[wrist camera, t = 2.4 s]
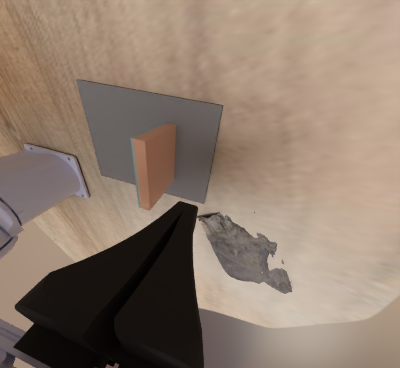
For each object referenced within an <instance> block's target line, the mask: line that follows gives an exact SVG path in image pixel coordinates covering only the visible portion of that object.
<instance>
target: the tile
mask: <svg viewBox="0 0 400 368" xmlns="http://www.w3.org/2000/svg"><path fill="white" fill-rule="evenodd" d="M131 146H132V155H133V163H134V171H135V179H136V188H137V196H138V204H139V207H140V208H143V209H146V210H151V208H152V207H153V206H154V205H155V203H156V202H157V201H158V200H159V198H160V197H161V196H162V195H163V194H164V192H165V191H166V190H167V189H168V187H169V186H170V185H171V184H172V182H173V181H174V170H175V147H176V125H175V124H170V123H164V124H161V125H159V126H157V127H155V128H152V129H150V130H148V131H145V132H143V133H141V134H139V135H136V136H134V137H132V138H131Z"/></svg>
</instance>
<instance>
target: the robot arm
mask: <svg viewBox="0 0 400 368" xmlns="http://www.w3.org/2000/svg"><path fill="white" fill-rule="evenodd" d="M24 148H25V151H22V152H18V153H15V154H11V155H8V156H4V157H1V158H0V259H1V258H2V257H4V256H5V255H6V254H7V253H8V252H9V251H10V250H11V249H12V248H13V246H14V245H15V243H16V241H17V240H18V236H17V234H19V233H20V232H22V231H23V230H24V229H23V228H22V227H21V226H22V225H24V224H25V223H27V222H29V221H30V220H32V219H34V218H35V217H37V216H39V215H40V214H42V213H43V212H45V211H47V210H48V209H50V208H52V207H53V206H55V205H56V204H58V203H60V202H61V201H63V200H65V199H66V198H68V197H70V196H71V195H76V196H79V197H82V198H86V199H88V198H89V194H88V191H87V188H86V185H85V182H84V179H83V176H82V173H81V170H80V167H79V164H78V162H77V159H76V157H74V156H72V155H68V154H64V153H61V152H57V151H53V150H49V149H46V148H42V147H38V146H35V145H31V144H24ZM197 212H198V207H197V206H195V205H191V204H188V203H184V202H181V201H179V202H178V203H176V204H175V205H174V206H173V207H172V208H171V209H169V210H168V211H167V212H166V213H164V214H163V215H162V216H161V217H159V218H158V219H157V220H155V221H154V222H152V223H151V224H150V225H148V226H147V227H145V228H144V229H142V230H141V231H139V232H137V233H136V234H134V235H133V236H131V237H129V238H127V239H126V240H124V241H122V242H120V243H118V244H116V245H114V246H112V247H110V248H108V249H106V250H104V251H102V252H100V253H97V254H95V255H93V256H91V257H88V258H86V259H84V260H81V261H79V262H76V263H74V264H71V265H69V266H66V267H63V268H61V269H58V270H56V271H53V272H50V273H49V274H48V275H47V276H46V277H44V278H43V279H42V280H41V281H40V282H39V283H38V284H37V285H36V286H35V287H34V288H33V289H31V291H29V292H28V293H27V294H26V295H25V296H24V297H23V298H22V299H21V300H20V301H19V302H18V303H17V304H16V305H15V309H16V310H17V311H18V312H20V313H21V314H22V315H24V316H25V317H26V318H28V319H29V320H31V321H32V322H34V324H33V325H32V327H31V328H30V329H29V330H28V331H27V332H25V331H23V330H21V329H19V328H17V327H15V326H13V325H11V324H9V323H7V322H5V321H3V320H1V319H0V368H16V367H13V363H14V361H15V357H17V358H19V359H21V360H22V361H24V362H26V363H28V364H30V365H32V366H34V367H36V368H105V367H106V365H107V364H108V365H110V366H114V365H115V363H117V364H119V367H118V368H204V357H203V343H202V342H203V341H202V328H201V323H200V317H199V311H198V304H197V297H196V289H195V279H194V268H193V232H194V228H195V224H196V218H197Z"/></svg>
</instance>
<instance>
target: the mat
mask: <svg viewBox="0 0 400 368" xmlns="http://www.w3.org/2000/svg"><path fill="white" fill-rule="evenodd" d="M77 84H78V88H79V92H80V96H81V99H82V103H83V107H84V111H85V115H86V118H87V122H88V126H89V130H90V134H91V138H92V141H93V145H94V149H95V153H96V157H97V161H98V164H99V168H100V172H101V175H103V176H106V177H110V178H113V179H117V180H120V181H124V182H127V183H131V184H135V185H136V179H135V171H134V163H133V155H132V146H131V138H132V137H134V136H136V135H139V134H141V133H143V132H145V131H148V130H150V129H152V128H155V127H157V126H159V125H161V124H164V123H170V124H175V125H176V147H175V170H174V181H173V182H172V184H171V185H170V186H169V187H168V189H167V190H166V191H165V192H164V193H167V194H170V195H174V196H177V197H181V198H184V199H188V200H191V201H195V202H199V203H202V204H204V202H205V197H206V192H207V187H208V182H209V176H210V171H211V166H212V161H213V155H214V150H215V145H216V140H217V134H218V129H219V124H220V119H221V113H222V108H223V105H217V104H212V103H206V102H201V101H195V100H190V99H184V98H178V97H173V96H167V95H162V94H156V93H151V92H145V91H139V90H134V89H128V88H123V87H117V86H111V85H106V84H100V83H95V82H89V81H84V80H77Z"/></svg>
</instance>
